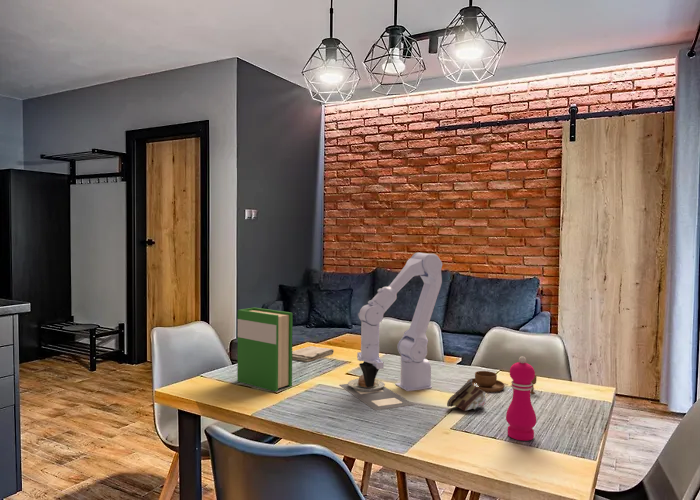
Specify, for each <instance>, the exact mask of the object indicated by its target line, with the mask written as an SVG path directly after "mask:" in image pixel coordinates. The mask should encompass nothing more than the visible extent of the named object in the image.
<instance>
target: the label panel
mask: <svg viewBox="0 0 700 500" xmlns="http://www.w3.org/2000/svg"><path fill="white" fill-rule="evenodd" d="M339 387H341V388H343V389H344V390H345V391H347V392H348V393H349V394H351V395H352V396H353V397H355V398H357V399H358V400H359V401H361V402H362V403H364V404H365V405H366V406H368V407H369V408H371V409H373V411H380V410H381V411H382V410H388V409H389V410H390V409H396V408H402V407H408V406H415V403H413V402H411V401H409V400H408V399H406V398H405V397H403V396H401V395H400V394H397V393H396V392H394V391H393V390H391V389H389V388H388V387H386V386H384V387H382V389H381V390H379V391H376V392H361V391H356V390H354V388H353V387H351V386H349V385H348V383H342V384H339Z"/></svg>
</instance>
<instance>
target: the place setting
mask: <svg viewBox="0 0 700 500" xmlns="http://www.w3.org/2000/svg"><path fill="white" fill-rule="evenodd" d="M497 378H498V374H497V373H496V372H493V371H488V370H487V371H486V370H477V371H476V372H475V373H474V378H469V379H467V381H466V383H467V382H468V381H469V380H470V379H472V384H473V385H474V383H475V384H476V383H477V385H478V386H479V387H477V388H479V389H481V390H482V391H484V392H485V393H497V392H501V391H503V390H504V388H505V385H506V386H508V385H509V384H508V383H504V382H503V381H500V380H499V379H497ZM531 383H532V384H533V385H532V390H531V392H530V395H535V394H536V391H535V392H534V390H535V388H534V386H535V385H536V384H537V375H536V374H535V377H534V379H533V380H532V381H531ZM536 395H537V394H536Z"/></svg>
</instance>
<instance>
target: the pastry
mask: <svg viewBox="0 0 700 500" xmlns="http://www.w3.org/2000/svg"><path fill="white" fill-rule="evenodd" d="M347 384H348V385H349V386H351V387H353V388H354V390H356V391H361V392H376V391H379V390H381V389H382V387H386V386H385V385H386V383H385V382H384V381H382V380H379V379H377V378H375V381H374V385H373V386H371V387H367V386H366V384H365V380H364V375H363V374H361V375H360V376H359V377H358V378H355V379H351V380H349V381H348V382H347Z"/></svg>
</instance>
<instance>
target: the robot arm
mask: <svg viewBox="0 0 700 500" xmlns="http://www.w3.org/2000/svg"><path fill="white" fill-rule="evenodd" d="M442 267H443V262H442V260H441V259H440V256H438V254H435V253H426V252H415V253H413V254H412V256H411V257H410V258H409V259H407V260H406V263H405V265H404V266H403V268H402V269H401V270H400V271H399V272H398V273H397V275H396V277H395V278H394V279H393V280H392V282H391V283H390V284H389V285H388V286H383V287H382V288H378V289H377V293H376V294H375V295H374V297H372V299H371V300H368V301H367V304H365V305H363V306H362V307H361V308H360V310H359V312H358V313H357V317H358V318H359V320H360V322H361V325H360V327H361V328H360V330H361V331H360V332H361V333H360V335H361V336H360V352H357V355H356V357H357V361H359V362H360V363H359V364H358V365H359V367H360V369H361V372H362V375H364V380H365V384H366V386H367V387H371V386H373V385H374V381H375V379H377V378H376V377H377V374H378V372H379V370H380V369H381V370H383V369H384V362H383V360H382V359H381V358H380V323H381V322H382V321H383V320H384V314H385V313H386V312H387V310H389V308H390V307H391V306H392V305H393V304H394V303H395V302H396V300H397V298H398V297H397V294H398V293H399V292H400V290H401V289H402V288H404V286H406V285H407V284H408V282H409V281H411V279H413V277H418V276H420V278H421V280H422V282H423V286H422V289H421V291H420V295H419V298H418V301H417V304H416V307H415V310H414V313H413V316H412V320H411V323H410V326H409V328H408V329H407V330H406V331H404V333H403V335H402V337H401V339H400V340H399V341H398V343H397V352H398V353H399V354H400V382H395V383H394V384H395V385H396V386H397V387H398V388H400V389H402V390H405V391H406V392H411V391H419V390H426V389H427V390H428V389H432V388H433V386H432V365H431V363H430V361H429V360H428V359H427V358H426V357H427V355H428V342H429V339H428V337H427V330H428V327H429V325H430V324H429V323H430V321H431V319H432V315H433V312H434V308H435V305H436V302H437V298H438V297H439V293H440V291H441V287H442V284H443V276H442Z"/></svg>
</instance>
